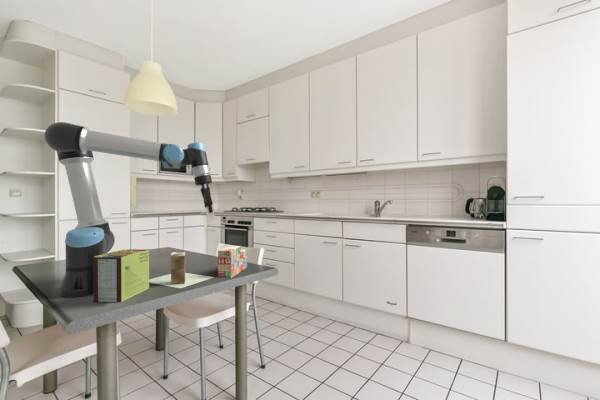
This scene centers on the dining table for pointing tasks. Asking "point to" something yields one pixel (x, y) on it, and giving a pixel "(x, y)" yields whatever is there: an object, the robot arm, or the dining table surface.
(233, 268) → the multicolored rectangular box
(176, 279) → the walnut block
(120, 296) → the protein box
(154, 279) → the sage board
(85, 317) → the dining table surface
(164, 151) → the robot arm
